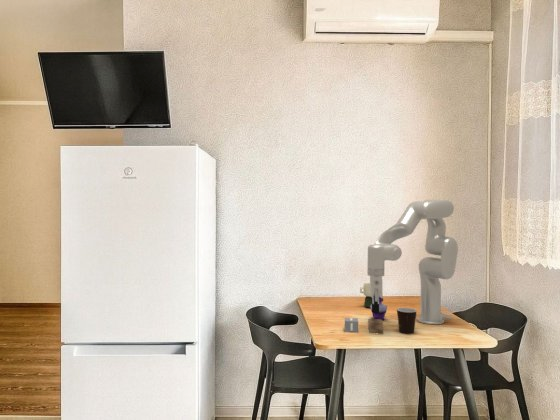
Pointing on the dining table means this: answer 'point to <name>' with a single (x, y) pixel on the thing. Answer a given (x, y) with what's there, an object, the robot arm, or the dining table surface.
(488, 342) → the dining table surface
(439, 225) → the robot arm
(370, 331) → the walnut block
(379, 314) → the potion bottle
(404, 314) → the coffee mug
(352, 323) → the marked slate block
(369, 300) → the character mug
